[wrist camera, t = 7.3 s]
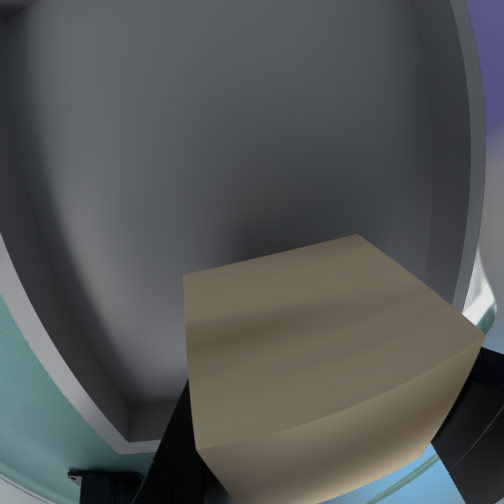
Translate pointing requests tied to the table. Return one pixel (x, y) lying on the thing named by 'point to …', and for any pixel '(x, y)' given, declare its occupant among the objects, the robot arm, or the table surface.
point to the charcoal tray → (218, 167)
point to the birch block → (319, 369)
